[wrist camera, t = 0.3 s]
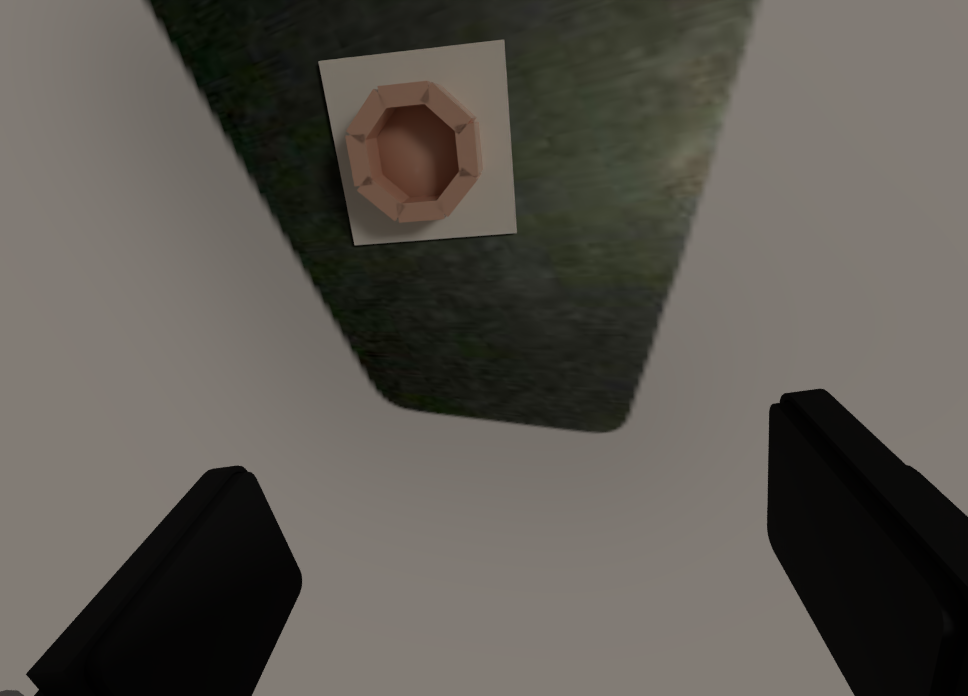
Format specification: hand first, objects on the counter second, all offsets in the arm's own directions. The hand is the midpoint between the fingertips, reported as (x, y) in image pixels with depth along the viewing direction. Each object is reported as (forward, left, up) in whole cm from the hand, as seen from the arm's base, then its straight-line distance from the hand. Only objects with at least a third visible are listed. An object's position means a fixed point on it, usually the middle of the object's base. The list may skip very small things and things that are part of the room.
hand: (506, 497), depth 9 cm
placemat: (-4, -6, -30) cm, 31 cm away
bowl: (-4, -6, -30) cm, 31 cm away
